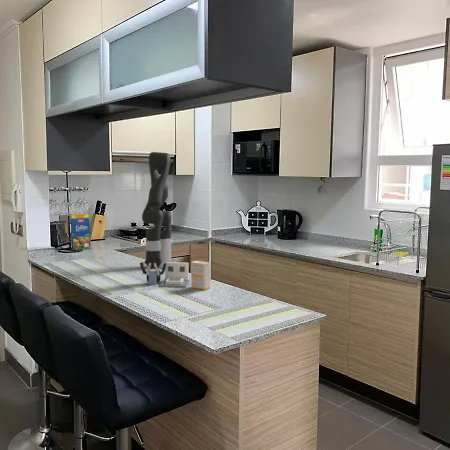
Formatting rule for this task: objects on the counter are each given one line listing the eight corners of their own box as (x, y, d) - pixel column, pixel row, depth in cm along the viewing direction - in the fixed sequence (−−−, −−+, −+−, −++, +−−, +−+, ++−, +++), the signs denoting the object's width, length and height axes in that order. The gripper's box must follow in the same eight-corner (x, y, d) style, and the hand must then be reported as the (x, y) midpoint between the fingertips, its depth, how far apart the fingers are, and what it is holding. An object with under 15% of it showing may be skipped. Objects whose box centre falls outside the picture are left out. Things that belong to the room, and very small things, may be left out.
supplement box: (210, 288, 225) (210, 262, 223) (204, 290, 221) (204, 263, 219) (196, 285, 230) (196, 260, 228) (190, 287, 226) (190, 261, 224)
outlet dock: (164, 280, 240) (164, 262, 239) (189, 281, 239) (189, 262, 238) (159, 286, 227) (159, 267, 226) (185, 287, 226) (185, 267, 225)
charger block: (150, 282, 236) (150, 270, 235) (158, 282, 236) (158, 270, 235) (148, 284, 232) (148, 271, 231) (156, 284, 232) (156, 272, 231)
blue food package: (90, 248, 331) (89, 214, 328) (73, 250, 325) (72, 215, 322) (88, 247, 337) (87, 213, 334) (71, 248, 330) (70, 214, 327)
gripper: (168, 248, 235) (168, 280, 237) (141, 247, 236) (141, 280, 238) (165, 250, 227) (165, 284, 230) (137, 250, 228) (137, 283, 231)
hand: (153, 282), depth 234 cm, fingers open, 4 cm apart
